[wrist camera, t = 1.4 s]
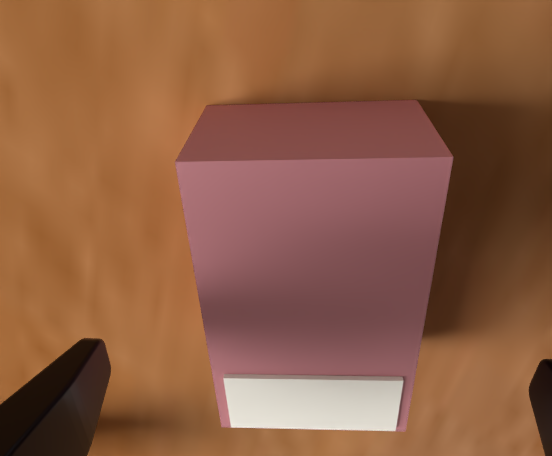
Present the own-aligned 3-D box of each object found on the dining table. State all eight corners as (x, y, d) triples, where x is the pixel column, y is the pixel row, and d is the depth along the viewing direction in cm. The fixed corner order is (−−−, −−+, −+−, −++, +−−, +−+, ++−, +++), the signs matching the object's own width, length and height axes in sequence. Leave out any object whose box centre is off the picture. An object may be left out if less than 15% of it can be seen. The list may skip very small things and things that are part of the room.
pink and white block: (414, 96, 11) (455, 159, 8) (386, 336, 15) (406, 435, 12) (208, 102, 12) (173, 164, 8) (237, 334, 16) (220, 431, 13)
